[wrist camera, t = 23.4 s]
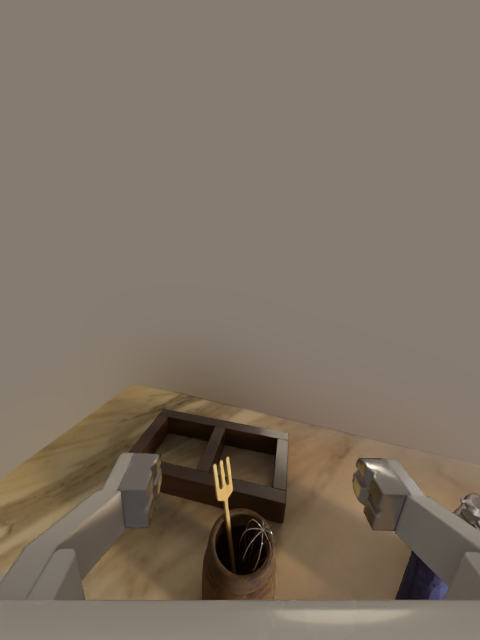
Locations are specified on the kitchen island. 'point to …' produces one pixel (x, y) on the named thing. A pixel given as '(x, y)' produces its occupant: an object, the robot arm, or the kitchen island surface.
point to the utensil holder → (238, 551)
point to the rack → (201, 480)
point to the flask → (419, 576)
